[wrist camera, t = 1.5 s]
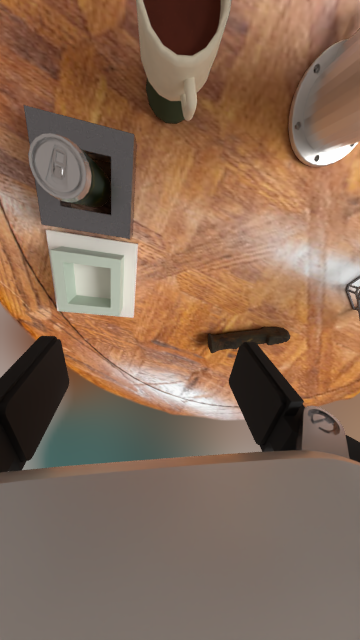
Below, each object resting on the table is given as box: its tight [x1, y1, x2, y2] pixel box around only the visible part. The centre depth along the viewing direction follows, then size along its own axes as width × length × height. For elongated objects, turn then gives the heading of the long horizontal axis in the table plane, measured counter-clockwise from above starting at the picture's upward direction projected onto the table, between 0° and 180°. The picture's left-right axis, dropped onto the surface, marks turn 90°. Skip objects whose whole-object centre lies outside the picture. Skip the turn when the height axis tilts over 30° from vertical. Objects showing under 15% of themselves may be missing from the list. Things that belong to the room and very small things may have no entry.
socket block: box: [24, 105, 137, 239], centre depth 27 cm, size 12×12×4 cm
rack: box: [46, 230, 138, 318], centre depth 32 cm, size 14×14×5 cm
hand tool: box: [208, 327, 290, 353], centre depth 43 cm, size 19×4×5 cm, turn 93°
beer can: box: [28, 133, 111, 207], centre depth 23 cm, size 5×5×12 cm
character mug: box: [136, 0, 231, 124], centre depth 19 cm, size 11×7×13 cm, turn 13°
